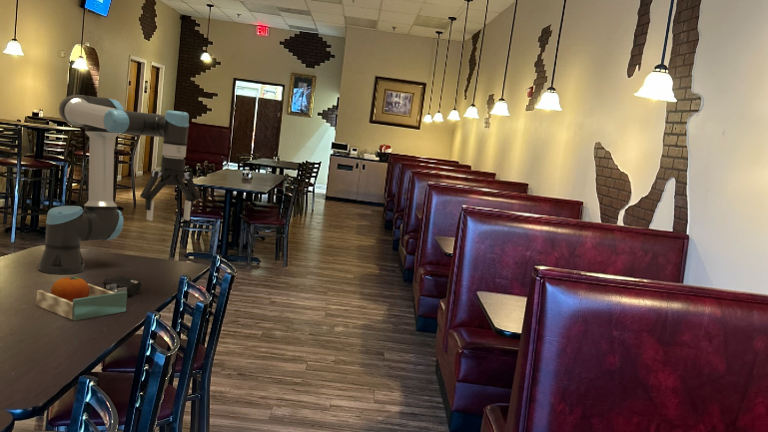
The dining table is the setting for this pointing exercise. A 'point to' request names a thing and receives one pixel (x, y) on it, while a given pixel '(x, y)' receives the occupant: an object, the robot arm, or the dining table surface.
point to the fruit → (70, 288)
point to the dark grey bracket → (113, 288)
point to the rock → (125, 284)
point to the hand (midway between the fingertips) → (168, 219)
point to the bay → (84, 303)
